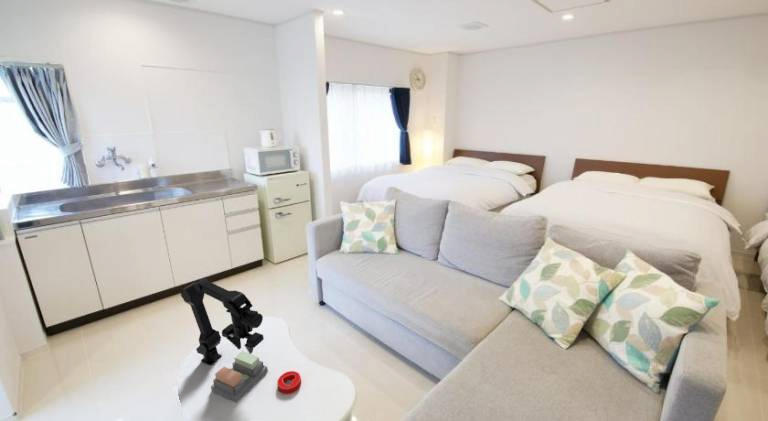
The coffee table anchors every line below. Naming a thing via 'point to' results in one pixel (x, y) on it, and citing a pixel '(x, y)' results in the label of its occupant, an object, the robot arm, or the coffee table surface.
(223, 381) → the orange brown block
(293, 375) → the decorative ornament
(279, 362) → the coffee table surface
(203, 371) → the coffee table surface
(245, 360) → the sage button
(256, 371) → the button panel
